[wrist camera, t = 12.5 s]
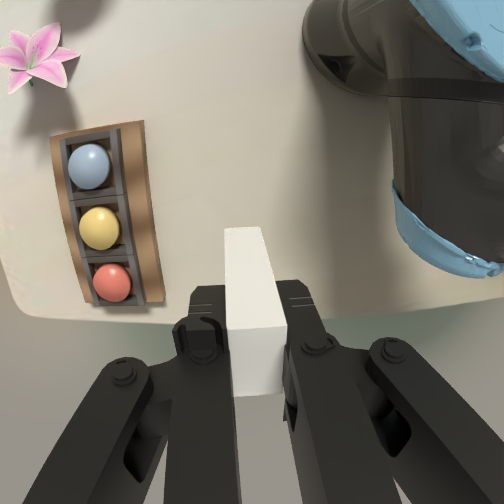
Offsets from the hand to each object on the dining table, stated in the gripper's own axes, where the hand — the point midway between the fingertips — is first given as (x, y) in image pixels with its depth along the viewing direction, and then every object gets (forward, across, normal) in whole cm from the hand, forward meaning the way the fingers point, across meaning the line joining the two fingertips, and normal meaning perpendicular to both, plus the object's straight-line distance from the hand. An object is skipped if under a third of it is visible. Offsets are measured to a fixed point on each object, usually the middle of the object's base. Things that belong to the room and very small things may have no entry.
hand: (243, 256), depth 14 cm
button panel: (+24, -16, -6) cm, 30 cm away
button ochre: (+22, -16, -6) cm, 28 cm away
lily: (+25, -22, +16) cm, 37 cm away
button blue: (+22, -16, +2) cm, 27 cm away
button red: (+22, -16, -14) cm, 30 cm away
